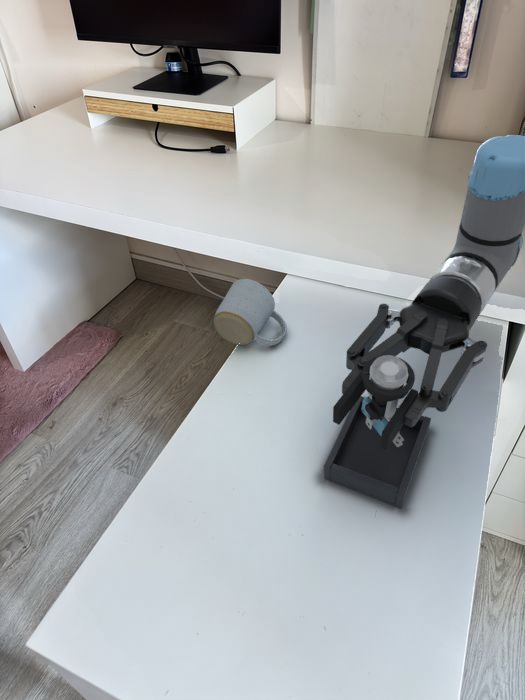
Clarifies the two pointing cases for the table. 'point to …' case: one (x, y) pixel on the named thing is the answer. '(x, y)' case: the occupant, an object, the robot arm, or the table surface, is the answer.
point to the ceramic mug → (247, 314)
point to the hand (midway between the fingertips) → (359, 428)
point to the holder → (375, 458)
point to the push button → (385, 390)
